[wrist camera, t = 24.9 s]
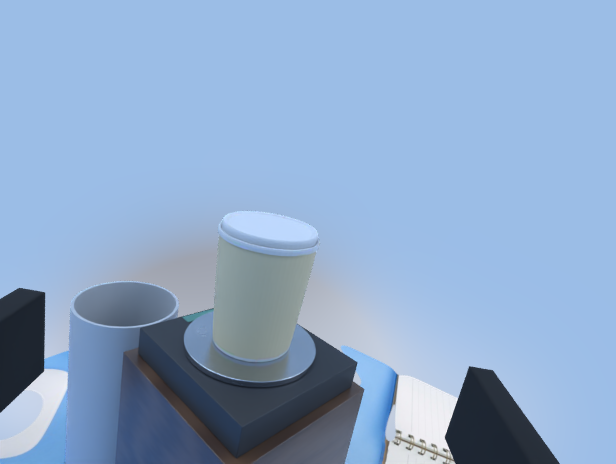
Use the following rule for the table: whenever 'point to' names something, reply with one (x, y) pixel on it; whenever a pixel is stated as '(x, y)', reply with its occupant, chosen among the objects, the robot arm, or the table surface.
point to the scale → (237, 399)
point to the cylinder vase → (105, 360)
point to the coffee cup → (260, 283)
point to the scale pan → (243, 372)
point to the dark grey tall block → (203, 443)
